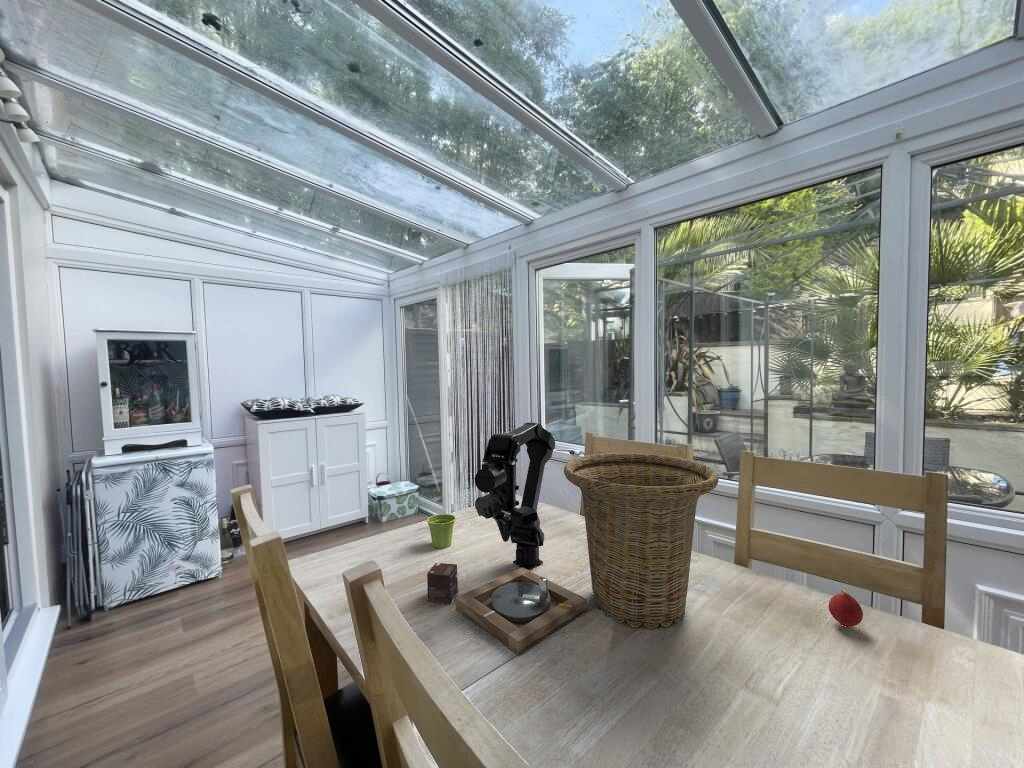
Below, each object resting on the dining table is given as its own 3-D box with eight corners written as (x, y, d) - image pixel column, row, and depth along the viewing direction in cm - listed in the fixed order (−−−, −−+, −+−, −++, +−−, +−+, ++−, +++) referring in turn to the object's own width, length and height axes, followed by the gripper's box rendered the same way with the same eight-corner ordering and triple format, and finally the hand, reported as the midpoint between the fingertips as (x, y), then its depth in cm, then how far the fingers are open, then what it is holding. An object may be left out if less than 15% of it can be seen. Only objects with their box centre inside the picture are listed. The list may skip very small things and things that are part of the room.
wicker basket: (593, 558, 125) (592, 448, 124) (724, 588, 107) (724, 459, 106) (540, 618, 95) (538, 474, 94) (709, 674, 77) (709, 497, 76)
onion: (855, 621, 92) (855, 586, 92) (867, 637, 87) (868, 599, 87) (824, 616, 94) (824, 582, 94) (834, 632, 89) (835, 595, 89)
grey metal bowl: (482, 618, 94) (482, 587, 93) (501, 586, 107) (500, 559, 107) (544, 627, 90) (543, 596, 89) (555, 594, 103) (555, 566, 103)
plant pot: (424, 542, 139) (423, 516, 138) (451, 537, 143) (451, 511, 142) (431, 553, 130) (430, 525, 130) (460, 547, 134) (459, 520, 134)
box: (450, 605, 101) (449, 575, 101) (426, 602, 103) (426, 573, 102) (458, 591, 107) (457, 563, 107) (436, 589, 109) (435, 562, 108)
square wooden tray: (522, 577, 114) (522, 566, 114) (587, 611, 98) (587, 597, 97) (455, 610, 99) (455, 596, 99) (518, 656, 83) (518, 640, 83)
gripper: (458, 481, 110) (459, 539, 111) (505, 496, 97) (506, 562, 97) (490, 473, 118) (491, 528, 118) (538, 486, 104) (539, 548, 105)
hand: (505, 541), depth 109 cm, fingers closed
